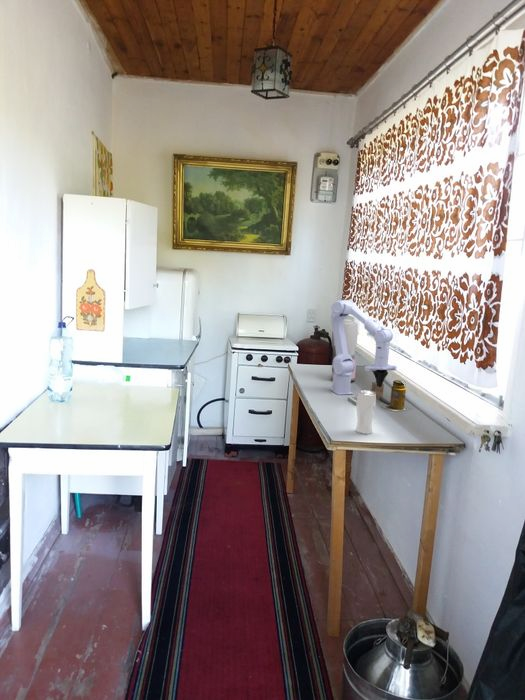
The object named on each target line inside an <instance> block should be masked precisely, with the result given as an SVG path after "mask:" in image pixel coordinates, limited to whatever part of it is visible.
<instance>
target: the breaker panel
mask: <svg viewBox="0 0 525 700" xmlns="http://www.w3.org/2000/svg"><path fill="white" fill-rule="evenodd" d="M357 396H358V395H357ZM357 396H355V397H354V396H353V397H352V396H351V397H347V401H348V402H349V403H351V404H352V405H354V406H356V407H357Z"/></svg>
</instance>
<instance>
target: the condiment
mask: <svg viewBox="0 0 525 700" xmlns="http://www.w3.org/2000/svg"><path fill="white" fill-rule="evenodd" d="M401 381H402V380H399V379H398V380H397V379H396V380H393V381H392V386H391V390H390V391H391V392H390V401H389V402H390V404H389V405H383V406H382V407H383V408H384V409H387V410H389V411H392V412H399V411H404V410H405V411H406V410H407V409H405V408H406V407H405V404H406V403H405V400H406V392H407V389H406V385H405V386H404V384H403V383H402V382H401Z"/></svg>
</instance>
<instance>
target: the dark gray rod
mask: <svg viewBox="0 0 525 700" xmlns="http://www.w3.org/2000/svg"><path fill="white" fill-rule="evenodd" d="M378 400H380V401H381V402H384V403H385V404H387V405H390V401H389V400H387V399H385V398H384V397H383V398H382V397H379V399H378Z"/></svg>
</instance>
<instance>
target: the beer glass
mask: <svg viewBox="0 0 525 700" xmlns="http://www.w3.org/2000/svg"><path fill="white" fill-rule="evenodd" d="M376 405H377V399H376V393H375V392H372V391H371V390H358V391H357V406H356V416H357V418H356V419H357V423H356V427H355V432H356V433H358V434H363V435H371V434H372V433H373V427H372V423H373V418H374V415H375V412H376V407H377V406H376Z"/></svg>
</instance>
